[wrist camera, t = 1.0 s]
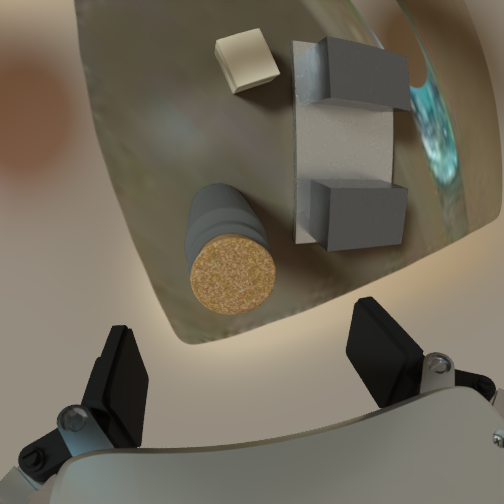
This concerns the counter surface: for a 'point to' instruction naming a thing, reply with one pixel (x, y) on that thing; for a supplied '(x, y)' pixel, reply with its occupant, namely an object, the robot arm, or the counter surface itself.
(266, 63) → the loose block
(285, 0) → the counter surface
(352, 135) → the board
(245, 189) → the counter surface
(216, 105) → the counter surface
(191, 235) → the bottle
